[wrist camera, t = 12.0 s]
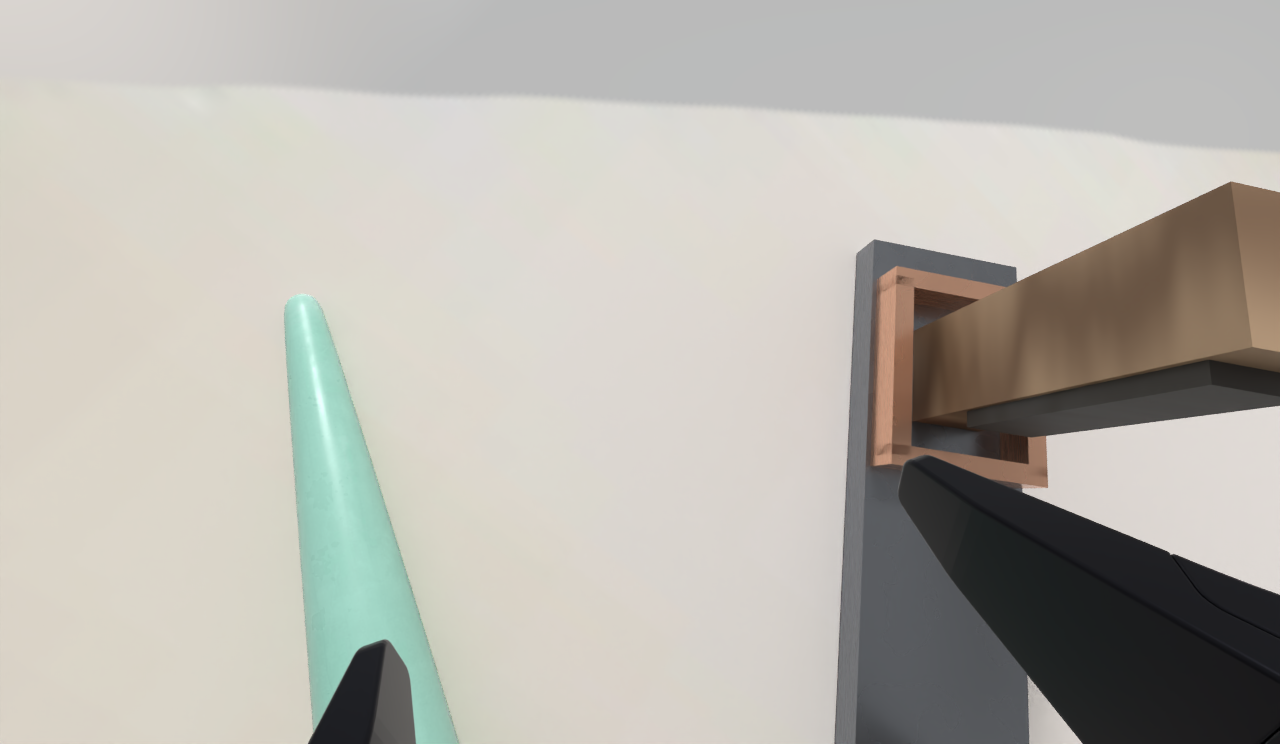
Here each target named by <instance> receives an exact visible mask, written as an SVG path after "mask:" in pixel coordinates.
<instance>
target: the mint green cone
mask: <svg viewBox="0 0 1280 744" xmlns="http://www.w3.org/2000/svg"><path fill="white" fill-rule="evenodd" d="M284 323H285V343H286V363H287V377H288V392H289V406H290V420H291V434H292V448H293V462H294V476H295V491H296V504H297V518H298V531H299V545H300V558H301V572H302V585H303V599H304V612H305V626H306V639H307V653H308V666H309V680H310V693H311V706H312V719H313V733H314V731H315V729H316V727H317V725H318V723H319V721H320V719H321V718H322V716H323V714H324V712H325V710H326V708H327V706H328V704H329V702H330V700H331V698H332V696H333V695H334V693H335V691H336V689H337V687H338V685H339V683H340V681H341V679H342V677H343V675H344V673H345V671H346V670H347V668H348V666H349V664H350V662H351V660H352V658H353V656H354V654H355V653H356V651H357V650H358V649H359V648H361V647H363V646H365V645H368V644H371V643H374V642H377V641H380V640H383V639H386V640H389V641H390V642H391V643H392V645H393V646H394V648H395V649H396V651H397V653H398V654H399V656H400V657H401V659H402V660H403V662H404V663H405V665H406V667H407V669H408V672H409V676H410V682H411V693H412V704H413V715H414V726H415V737H416V744H459V741H458V738H457V734H456V731H455V728H454V725H453V721H452V718H451V715H450V712H449V708H448V705H447V702H446V699H445V695H444V692H443V689H442V686H441V682H440V679H439V676H438V673H437V669H436V666H435V663H434V660H433V656H432V653H431V650H430V647H429V643H428V640H427V637H426V634H425V630H424V627H423V624H422V621H421V618H420V614H419V611H418V608H417V605H416V602H415V598H414V595H413V592H412V589H411V586H410V582H409V579H408V576H407V573H406V570H405V566H404V563H403V560H402V557H401V554H400V550H399V547H398V544H397V541H396V538H395V534H394V531H393V528H392V525H391V522H390V518H389V515H388V512H387V509H386V506H385V502H384V499H383V496H382V493H381V490H380V486H379V483H378V480H377V477H376V474H375V471H374V467H373V464H372V461H371V458H370V455H369V452H368V449H367V445H366V442H365V439H364V436H363V433H362V430H361V427H360V423H359V420H358V417H357V414H356V411H355V408H354V405H353V401H352V398H351V395H350V392H349V389H348V386H347V383H346V379H345V376H344V373H343V370H342V367H341V364H340V360H339V357H338V354H337V351H336V348H335V345H334V343H333V340H332V337H331V334H330V331H329V328H328V325H327V322H326V319H325V316H324V313H323V310H322V308H321V307H320V305H319V303H318V301H317V300H316V299H315V298H314V297H312V296H310V295H307V294H298V295H295V296H293V297H291V298H290V299H289V300H288V301H287V303H286V306H285V312H284Z"/></svg>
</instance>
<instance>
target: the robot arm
mask: <svg viewBox="0 0 1280 744" xmlns="http://www.w3.org/2000/svg"><path fill="white" fill-rule="evenodd" d="M898 497H899V501H900V503H901V505H902V507H903V508H904V510H905V511H906V513H907V514H908V516H909V517H910V519H911V520H912V522H913V523H914V525H915V526H916V528H917V529H918V531H919V532H920V534H921V535H922V537H923V539H924V540H925V542H926V543H927V545H928V546H929V548H930V549H931V551H932V552H933V554H934V555H935V557H936V558H937V560H938V561H939V563H940V564H941V566H942V567H943V569H944V570H945V572H946V573H947V574H948V576H949V577H950V579H951V580H952V581H953V583H954V584H955V585H956V586H957V588H958V589H959V590H960V592H961V593H962V594H963V595H964V596H965V598H966V599H967V600H968V601H969V603H970V604H971V605H972V606H973V608H974V609H975V610H976V611H977V613H978V614H979V615H980V616H981V618H982V619H983V620H984V621H985V623H986V624H987V625H988V626H989V628H990V629H991V630H992V631H993V633H994V634H995V635H996V636H997V638H998V639H999V640H1000V641H1001V643H1002V644H1003V645H1004V646H1005V647H1006V649H1007V650H1008V651H1009V652H1010V654H1011V655H1012V656H1013V657H1014V659H1015V660H1016V661H1017V662H1018V664H1019V665H1020V666H1021V667H1022V669H1023V670H1024V671H1025V672H1026V674H1027V675H1028V676H1029V677H1030V679H1031V680H1032V681H1033V682H1034V684H1035V685H1036V686H1037V687H1038V689H1039V690H1040V691H1041V692H1042V693H1043V695H1044V696H1045V697H1046V698H1047V700H1048V701H1049V702H1050V703H1051V705H1052V706H1053V707H1054V708H1055V710H1056V711H1057V712H1058V713H1059V715H1060V716H1061V717H1062V718H1063V720H1064V721H1065V722H1066V723H1067V725H1068V726H1069V727H1070V728H1071V730H1072V731H1073V732H1074V733H1075V735H1076V736H1077V737H1078V738H1079V740H1080V741H1081V742H1082V743H1083V744H1280V595H1279V594H1276V593H1273V592H1271V591H1268V590H1265V589H1262V588H1260V587H1257V586H1254V585H1251V584H1248V583H1246V582H1243V581H1241V580H1238V579H1236V578H1233V577H1231V576H1228V575H1225V574H1223V573H1220V572H1218V571H1215V570H1213V569H1210V568H1207V567H1205V566H1202V565H1200V564H1197V563H1195V562H1193V561H1190V560H1188V559H1185V558H1183V557H1180V556H1178V555H1175V554H1172V555H1170V553H1169V552H1167V551H1165V550H1163V549H1160V548H1158V547H1155V546H1153V545H1150V544H1148V543H1145V542H1143V541H1140V540H1138V539H1136V538H1133V537H1131V536H1128V535H1126V534H1123V533H1121V532H1118V531H1116V530H1113V529H1111V528H1108V527H1106V526H1104V525H1101V524H1099V523H1096V522H1094V521H1091V520H1089V519H1086V518H1084V517H1081V516H1079V515H1076V514H1074V513H1072V512H1069V511H1067V510H1064V509H1062V508H1059V507H1057V506H1054V505H1052V504H1049V503H1047V502H1044V501H1042V500H1040V499H1037V498H1035V497H1032V496H1030V495H1027V494H1025V493H1022V492H1020V491H1017V490H1015V489H1013V488H1010V487H1008V486H1005V485H1003V484H1000V483H998V482H995V481H993V480H990V479H988V478H985V477H983V476H981V475H978V474H976V473H973V472H971V471H968V470H966V469H963V468H961V467H958V466H956V465H953V464H951V463H949V462H946V461H944V460H941V459H939V458H936V457H934V456H931V455H921V456H918V457H915V458H912V459H909V460H907V461H906V462H905V463H904V465H903V468H902V473H901V478H900V482H899V487H898ZM308 744H416V737H415V726H414V715H413V704H412V693H411V682H410V676H409V672H408V669H407V667H406V665H405V663H404V662H403V660H402V659H401V657H400V656H399V654H398V653H397V651H396V649H395V648H394V646H393V645H392V643H391V642H390V641H389V640H386V639H383V640H380V641H377V642H374V643H371V644H368V645H365V646H363V647H361V648H359V649H358V650H357V651H356V653H355V654H354V656H353V658H352V660H351V662H350V664H349V666H348V668H347V670H346V671H345V673H344V675H343V677H342V679H341V681H340V683H339V685H338V687H337V689H336V691H335V693H334V695H333V696H332V698H331V700H330V702H329V704H328V706H327V708H326V710H325V712H324V714H323V716H322V718H321V719H320V721H319V723H318V725H317V727H316V729H315V731H314V733H313V735H312V737H311V739H310V741H309V743H308Z"/></svg>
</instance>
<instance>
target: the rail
mask: <svg viewBox="0 0 1280 744" xmlns="http://www.w3.org/2000/svg"><path fill="white" fill-rule="evenodd" d="M1016 282H1017V278H1016V267H1011V266H1006V265H1001V264H996V263H991V262H986V261H981V260H975V259H970V258H965V257H960V256H955V255H950V254H945V253H940V252H935V251H930V250H925V249H920V248H915V247H910V246H905V245H900V244H895V243H889V242H884V241H879V240H873V241H872V242H870V243H869V244H868V245H867V246H866V247H864V248H863V249H862V250H861V251H859V252H858V253H857V264H856V286H855V309H854V331H853V353H852V376H851V398H850V420H849V442H848V465H847V487H846V509H845V531H844V554H843V576H842V598H841V620H840V643H839V665H838V687H837V709H836V732H835V744H1029V719H1028V683H1027V674H1026V672H1025V671H1024V670H1023V669H1022V667H1021V666H1020V665H1019V664H1018V662H1017V661H1016V660H1015V659H1014V657H1013V656H1012V655H1011V654H1010V652H1009V651H1008V650H1007V649H1006V647H1005V646H1004V645H1003V644H1002V643H1001V641H1000V640H999V639H998V638H997V636H996V635H995V634H994V633H993V631H992V630H991V629H990V628H989V626H988V625H987V624H986V623H985V621H984V620H983V619H982V618H981V616H980V615H979V614H978V613H977V611H976V610H975V609H974V608H973V606H972V605H971V604H970V603H969V601H968V600H967V599H966V598H965V596H964V595H963V594H962V593H961V592H960V590H959V589H958V588H957V586H956V585H955V584H954V583H953V581H952V580H951V579H950V577H949V576H948V574H947V573H946V572H945V570H944V569H943V567H942V566H941V564H940V563H939V561H938V560H937V558H936V557H935V555H934V554H933V552H932V551H931V549H930V548H929V546H928V545H927V543H926V542H925V540H924V539H923V537H922V535H921V534H920V532H919V531H918V529H917V528H916V526H915V525H914V523H913V522H912V520H911V519H910V517H909V516H908V514H907V513H906V511H905V510H904V508H903V507H902V505H901V503H900V501H899V497H898V487H899V482H900V478H901V473H902V468H903V465H904V463H905V462H906V461H907V460H909V459H912V458H915V457H918V456H921V455H931V456H934V457H936V458H939V459H941V460H944V461H946V462H949V463H951V464H953V465H956V466H958V467H961V468H963V469H966V470H968V471H971V472H973V473H976V474H978V475H981V476H983V477H985V478H988V479H990V480H993V481H995V482H998V483H1000V484H1003V485H1005V486H1008V487H1010V488H1013V489H1015V490H1017V491H1020V492H1022V488H1048V477H1047V451H1046V436H1040V437H1032V438H1031V437H1025V436H1019V435H1012V434H1006V433H1000V432H994V431H987V430H985V431H979V432H977V431H971V430H965V429H958V428H952V427H946V426H940V425H933V424H927V423H921V422H915V421H912V415H913V354H914V330H917V329H919V328H921V327H923V326H925V325H927V324H929V323H931V322H934V321H936V320H938V319H940V318H942V317H944V316H946V315H948V314H951V313H953V312H955V311H957V310H959V309H961V308H963V307H965V306H968V305H970V304H972V303H974V302H976V301H978V300H980V299H982V298H985V297H987V296H989V295H991V294H993V293H995V292H997V291H999V290H1002V289H1004V288H1006V287H1008V286H1010V285H1012V284H1014V283H1016Z"/></svg>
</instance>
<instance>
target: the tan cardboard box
mask: <svg viewBox="0 0 1280 744" xmlns="http://www.w3.org/2000/svg"><path fill="white" fill-rule="evenodd" d="M1273 406H1280V192H1275V191H1271V190H1267V189H1262V188H1258V187H1253V186H1249V185H1244V184H1240V183H1235V182H1229V183H1227V184H1225V185H1223V186H1220V187H1218V188H1216V189H1214V190H1212V191H1210V192H1208V193H1206V194H1203V195H1201V196H1199V197H1197V198H1195V199H1193V200H1191V201H1189V202H1186V203H1184V204H1182V205H1180V206H1178V207H1176V208H1174V209H1172V210H1169V211H1167V212H1165V213H1163V214H1161V215H1159V216H1157V217H1155V218H1152V219H1150V220H1148V221H1146V222H1144V223H1142V224H1140V225H1138V226H1135V227H1133V228H1131V229H1129V230H1127V231H1125V232H1123V233H1121V234H1118V235H1116V236H1114V237H1112V238H1110V239H1108V240H1106V241H1104V242H1101V243H1099V244H1097V245H1095V246H1093V247H1091V248H1089V249H1087V250H1084V251H1082V252H1080V253H1078V254H1076V255H1074V256H1072V257H1070V258H1067V259H1065V260H1063V261H1061V262H1059V263H1057V264H1055V265H1053V266H1050V267H1048V268H1046V269H1044V270H1042V271H1040V272H1038V273H1036V274H1033V275H1031V276H1029V277H1027V278H1025V279H1023V280H1021V281H1019V282H1016V283H1014V284H1012V285H1010V286H1008V287H1006V288H1004V289H1002V290H999V291H997V292H995V293H993V294H991V295H989V296H987V297H985V298H982V299H980V300H978V301H976V302H974V303H972V304H970V305H968V306H965V307H963V308H961V309H959V310H957V311H955V312H953V313H951V314H948V315H946V316H944V317H942V318H940V319H938V320H936V321H934V322H931V323H929V324H927V325H925V326H923V327H921V328H919V329H917V330H914V354H913V415H912V421H915V422H921V423H927V424H933V425H940V426H946V427H952V428H958V429H965V430H971V431H977V432H979V431H985V430H987V431H994V432H1000V433H1006V434H1012V435H1019V436H1025V437H1031V438H1032V437H1040V436H1048V435H1055V434H1063V433H1071V432H1079V431H1087V430H1094V429H1102V428H1110V427H1118V426H1125V425H1133V424H1141V423H1149V422H1156V421H1164V420H1172V419H1180V418H1188V417H1195V416H1203V415H1211V414H1219V413H1226V412H1234V411H1242V410H1250V409H1257V408H1265V407H1273Z"/></svg>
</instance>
